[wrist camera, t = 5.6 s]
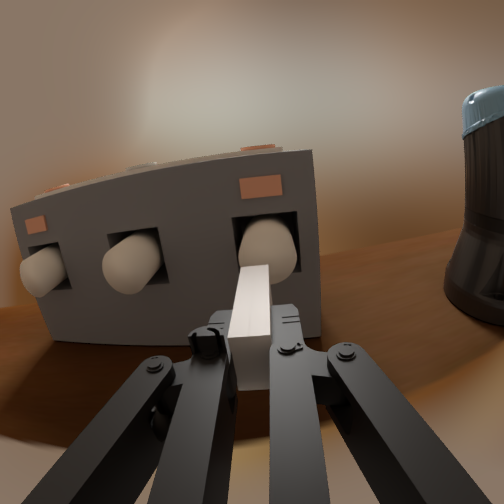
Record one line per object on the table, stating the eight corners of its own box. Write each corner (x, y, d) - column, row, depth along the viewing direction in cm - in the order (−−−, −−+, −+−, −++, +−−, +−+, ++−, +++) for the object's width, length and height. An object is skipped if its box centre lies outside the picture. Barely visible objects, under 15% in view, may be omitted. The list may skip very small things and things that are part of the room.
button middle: (172, 266, 27) (163, 224, 26) (152, 293, 22) (140, 243, 20) (135, 269, 27) (125, 230, 26) (109, 295, 22) (96, 249, 21)
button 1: (81, 274, 28) (71, 238, 27) (52, 297, 23) (39, 257, 21) (56, 276, 28) (46, 243, 27) (27, 297, 23) (15, 260, 22)
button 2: (292, 255, 26) (288, 210, 25) (298, 281, 21) (294, 227, 20) (247, 259, 26) (241, 215, 25) (242, 286, 21) (234, 233, 20)
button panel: (308, 291, 34) (297, 143, 29) (321, 338, 25) (311, 140, 20) (87, 305, 37) (55, 187, 31) (52, 341, 28) (7, 202, 22)
